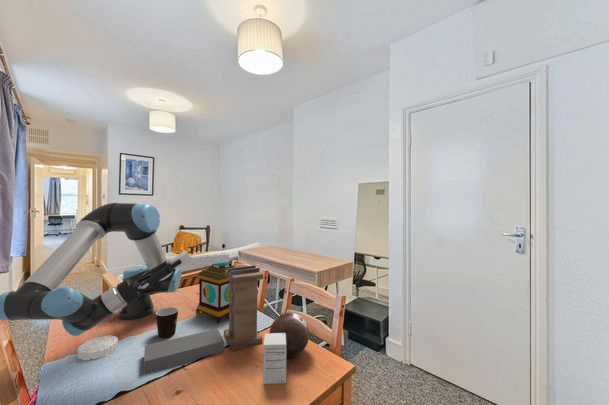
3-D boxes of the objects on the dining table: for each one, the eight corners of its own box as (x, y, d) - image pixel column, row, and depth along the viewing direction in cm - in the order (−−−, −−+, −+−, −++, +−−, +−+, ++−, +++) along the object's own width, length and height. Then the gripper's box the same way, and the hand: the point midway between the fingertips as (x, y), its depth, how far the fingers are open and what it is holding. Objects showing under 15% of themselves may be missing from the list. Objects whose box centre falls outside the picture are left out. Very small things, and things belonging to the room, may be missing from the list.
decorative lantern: (249, 311, 135) (250, 254, 135) (218, 326, 119) (219, 261, 119) (223, 302, 146) (224, 249, 146) (191, 315, 129) (192, 255, 129)
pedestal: (223, 334, 111) (224, 266, 111) (250, 328, 118) (251, 263, 118) (232, 351, 99) (234, 274, 99) (262, 342, 106) (263, 270, 106)
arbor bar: (166, 266, 95) (166, 258, 95) (226, 260, 106) (227, 253, 106) (166, 268, 92) (166, 260, 92) (228, 261, 104) (229, 254, 104)
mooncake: (120, 351, 98) (120, 342, 98) (78, 365, 90) (79, 355, 90) (114, 339, 107) (114, 330, 107) (76, 351, 98) (76, 341, 98)
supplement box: (264, 369, 89) (264, 332, 89) (285, 368, 90) (286, 332, 90) (262, 384, 82) (263, 344, 82) (286, 383, 82) (286, 344, 82)
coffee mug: (168, 341, 106) (168, 316, 106) (150, 338, 108) (150, 314, 107) (186, 327, 117) (187, 305, 117) (170, 325, 119) (170, 303, 119)
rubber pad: (144, 356, 95) (144, 345, 95) (217, 338, 109) (217, 328, 109) (144, 373, 86) (144, 361, 86) (223, 351, 99) (224, 340, 99)
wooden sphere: (312, 364, 92) (312, 322, 92) (269, 368, 90) (270, 324, 90) (305, 341, 107) (305, 305, 107) (268, 344, 105) (269, 307, 105)
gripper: (130, 296, 95) (190, 258, 105) (127, 312, 81) (197, 267, 92) (117, 279, 93) (180, 242, 103) (112, 293, 79) (186, 249, 90)
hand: (188, 254), depth 97 cm, fingers closed on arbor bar, 3 cm apart
